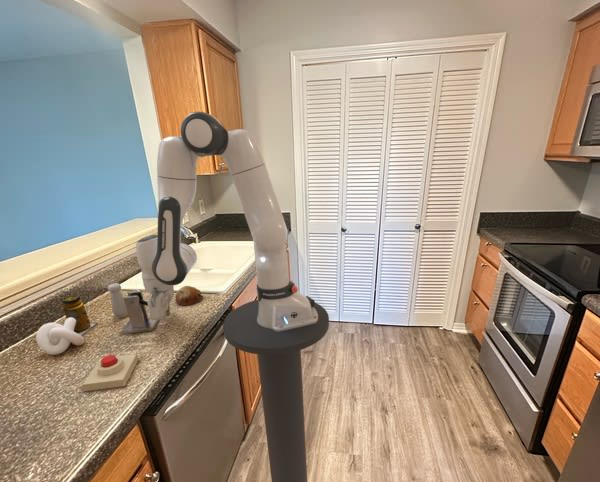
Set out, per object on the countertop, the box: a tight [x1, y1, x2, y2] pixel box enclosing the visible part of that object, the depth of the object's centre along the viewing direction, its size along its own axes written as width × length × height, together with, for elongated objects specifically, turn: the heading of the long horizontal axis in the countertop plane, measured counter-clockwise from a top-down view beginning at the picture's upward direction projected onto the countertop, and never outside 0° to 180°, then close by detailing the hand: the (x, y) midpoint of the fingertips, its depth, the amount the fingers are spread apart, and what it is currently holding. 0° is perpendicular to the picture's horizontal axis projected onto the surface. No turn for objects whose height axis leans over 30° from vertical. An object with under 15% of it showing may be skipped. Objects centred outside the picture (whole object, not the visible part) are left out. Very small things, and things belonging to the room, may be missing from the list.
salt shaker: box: [106, 282, 129, 319], centre depth 121 cm, size 6×6×13 cm
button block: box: [81, 353, 139, 392], centre depth 90 cm, size 10×12×4 cm
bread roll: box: [175, 285, 204, 306], centre depth 133 cm, size 10×10×8 cm
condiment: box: [61, 295, 97, 336], centre depth 113 cm, size 7×8×12 cm
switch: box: [130, 294, 148, 307], centre depth 112 cm, size 12×5×2 cm, turn 99°
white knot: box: [35, 317, 85, 356], centre depth 103 cm, size 11×12×9 cm
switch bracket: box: [121, 290, 160, 335], centre depth 113 cm, size 10×8×13 cm
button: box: [100, 354, 117, 368], centre depth 89 cm, size 4×4×2 cm
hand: (166, 318), depth 115 cm, fingers open, 3 cm apart
